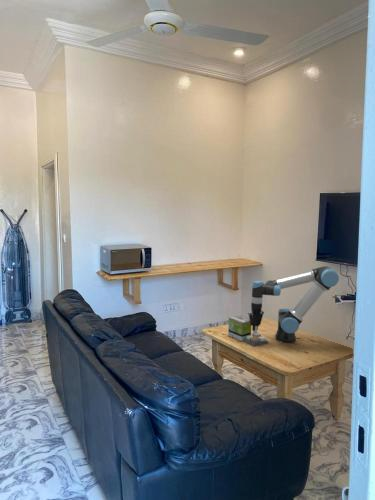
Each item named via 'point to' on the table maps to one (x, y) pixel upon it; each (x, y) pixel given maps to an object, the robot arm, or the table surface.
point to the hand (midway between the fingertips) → (254, 334)
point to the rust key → (255, 339)
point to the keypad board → (255, 343)
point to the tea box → (239, 327)
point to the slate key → (257, 335)
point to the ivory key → (262, 339)
